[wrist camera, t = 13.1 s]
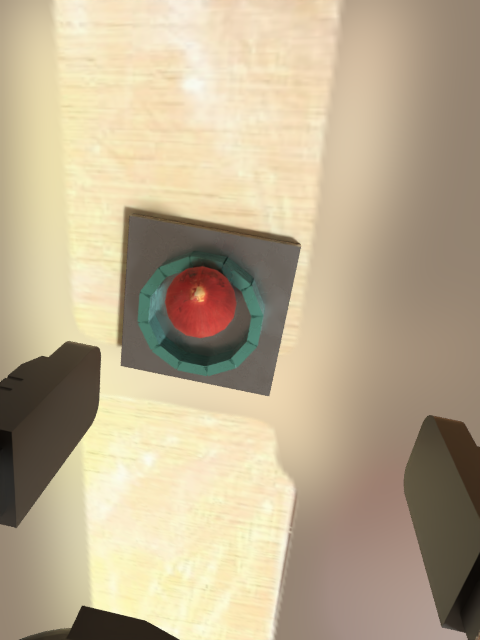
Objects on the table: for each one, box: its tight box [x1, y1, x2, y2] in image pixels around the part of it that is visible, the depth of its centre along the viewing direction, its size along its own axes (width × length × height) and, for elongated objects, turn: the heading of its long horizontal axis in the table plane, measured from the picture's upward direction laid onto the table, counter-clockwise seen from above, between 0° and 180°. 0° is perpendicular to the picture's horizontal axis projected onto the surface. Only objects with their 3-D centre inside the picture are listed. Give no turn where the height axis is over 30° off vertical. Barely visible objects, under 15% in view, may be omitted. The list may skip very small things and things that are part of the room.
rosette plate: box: [121, 214, 301, 396], centre depth 42 cm, size 15×15×3 cm
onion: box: [165, 266, 236, 338], centre depth 38 cm, size 6×6×8 cm
